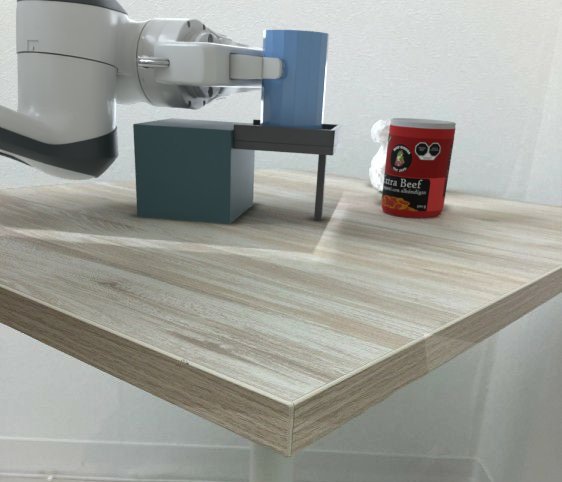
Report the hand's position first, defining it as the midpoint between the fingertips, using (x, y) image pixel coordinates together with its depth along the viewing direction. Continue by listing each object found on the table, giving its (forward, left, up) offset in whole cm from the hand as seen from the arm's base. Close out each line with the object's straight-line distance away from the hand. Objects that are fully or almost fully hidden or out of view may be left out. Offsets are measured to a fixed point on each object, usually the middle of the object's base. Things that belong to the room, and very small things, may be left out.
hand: (301, 70), depth 65 cm
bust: (+10, +30, -16) cm, 35 cm away
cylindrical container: (-1, 0, -7) cm, 7 cm away
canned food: (+13, +14, -16) cm, 25 cm away
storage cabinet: (-6, 0, -16) cm, 17 cm away
